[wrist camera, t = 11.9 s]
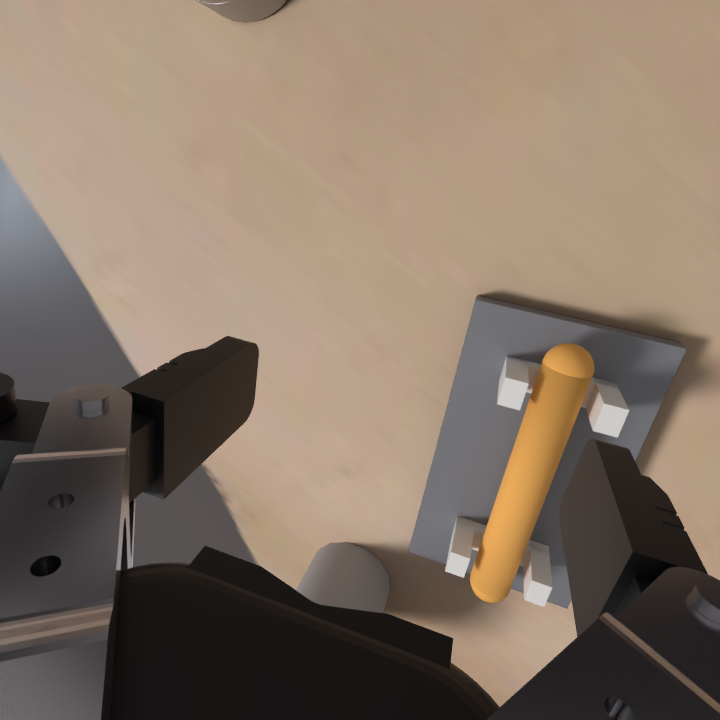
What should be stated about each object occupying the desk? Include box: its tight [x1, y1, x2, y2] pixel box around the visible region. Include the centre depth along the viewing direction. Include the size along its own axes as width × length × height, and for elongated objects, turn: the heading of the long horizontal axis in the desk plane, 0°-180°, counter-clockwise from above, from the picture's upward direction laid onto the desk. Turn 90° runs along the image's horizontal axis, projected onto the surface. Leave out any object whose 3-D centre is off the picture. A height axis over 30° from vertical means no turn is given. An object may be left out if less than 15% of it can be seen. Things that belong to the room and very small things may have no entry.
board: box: [408, 296, 687, 608], centre depth 36 cm, size 14×24×6 cm, turn 170°
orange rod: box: [470, 343, 594, 603], centre depth 35 cm, size 22×3×3 cm, turn 170°
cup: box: [296, 542, 390, 613], centre depth 44 cm, size 8×8×10 cm
